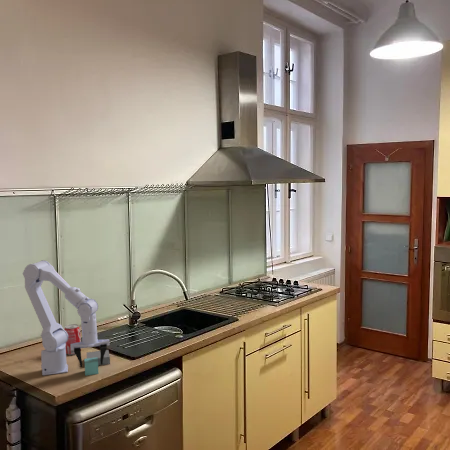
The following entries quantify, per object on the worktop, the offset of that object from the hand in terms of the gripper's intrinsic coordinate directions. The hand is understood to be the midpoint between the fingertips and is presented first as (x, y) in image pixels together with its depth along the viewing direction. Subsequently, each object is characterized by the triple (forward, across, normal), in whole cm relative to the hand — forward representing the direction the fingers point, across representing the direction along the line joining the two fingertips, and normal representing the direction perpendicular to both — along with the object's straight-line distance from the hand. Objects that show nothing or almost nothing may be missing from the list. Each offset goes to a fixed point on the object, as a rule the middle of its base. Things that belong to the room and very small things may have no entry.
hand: (91, 365), depth 199 cm
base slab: (+3, +3, +11) cm, 12 cm away
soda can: (+3, -7, +26) cm, 27 cm away
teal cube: (+3, 0, 0) cm, 3 cm away
